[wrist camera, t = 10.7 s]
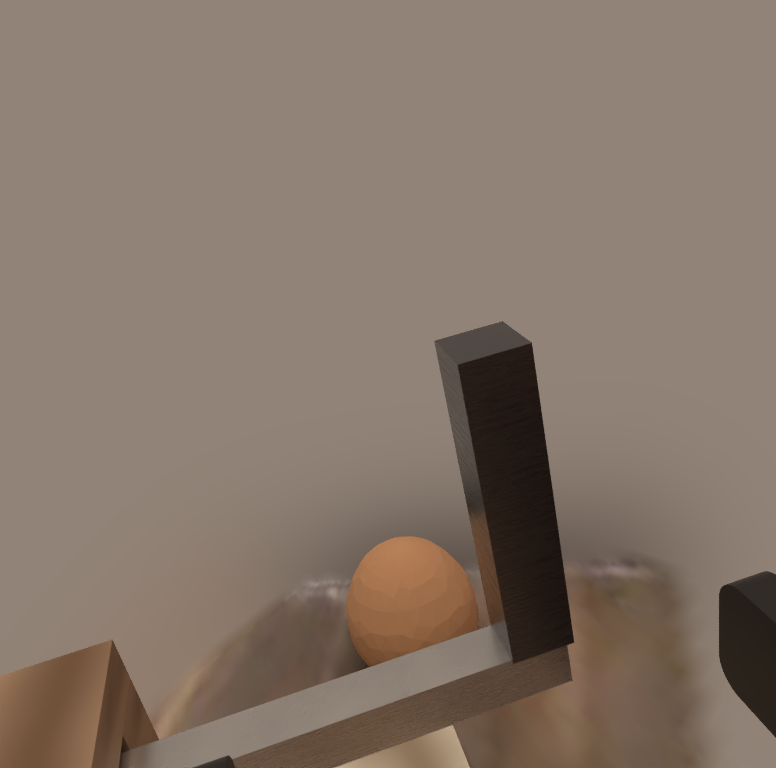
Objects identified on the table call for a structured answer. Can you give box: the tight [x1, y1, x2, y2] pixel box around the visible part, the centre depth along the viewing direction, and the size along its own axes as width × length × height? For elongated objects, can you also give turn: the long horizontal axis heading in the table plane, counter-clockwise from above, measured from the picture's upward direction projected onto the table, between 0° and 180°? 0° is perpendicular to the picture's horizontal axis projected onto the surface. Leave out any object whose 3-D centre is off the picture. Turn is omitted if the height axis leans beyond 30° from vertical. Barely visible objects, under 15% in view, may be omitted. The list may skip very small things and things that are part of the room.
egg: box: [346, 536, 479, 667], centre depth 41 cm, size 7×7×8 cm
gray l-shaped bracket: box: [119, 321, 574, 768], centre depth 25 cm, size 19×2×14 cm, turn 104°
